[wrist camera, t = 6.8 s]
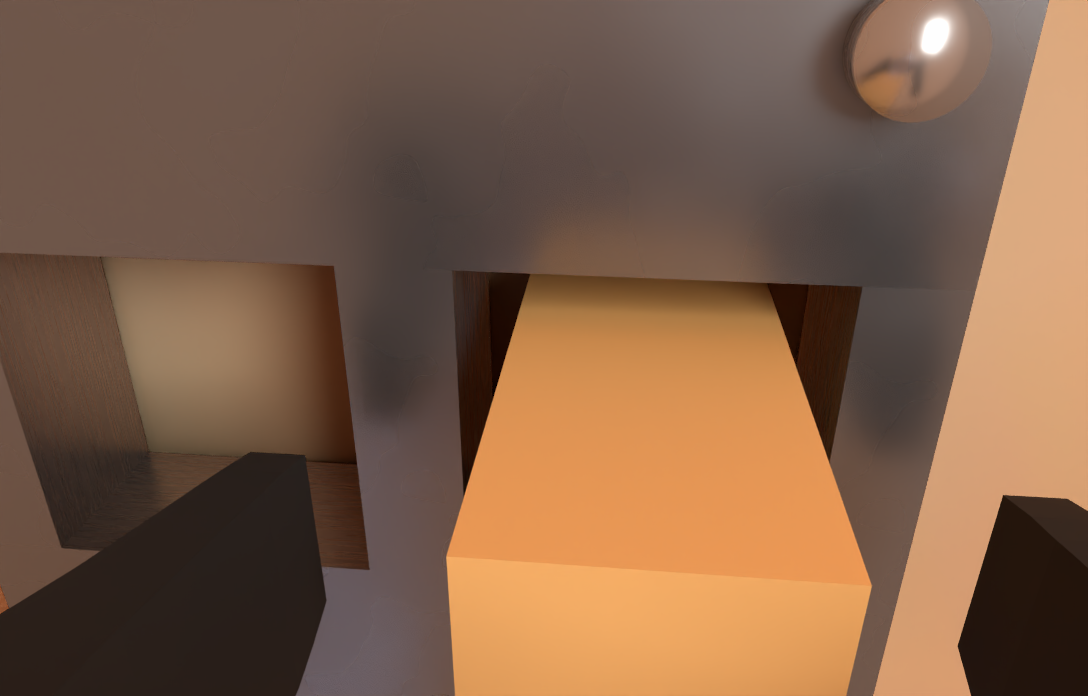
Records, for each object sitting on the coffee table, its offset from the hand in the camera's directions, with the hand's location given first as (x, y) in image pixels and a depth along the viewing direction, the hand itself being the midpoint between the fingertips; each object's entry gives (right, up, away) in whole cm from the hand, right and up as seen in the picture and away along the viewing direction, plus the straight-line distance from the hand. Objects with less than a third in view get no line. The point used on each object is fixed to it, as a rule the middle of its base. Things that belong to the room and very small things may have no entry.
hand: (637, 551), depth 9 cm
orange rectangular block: (0, +2, +4) cm, 4 cm away
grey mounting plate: (-2, +2, +4) cm, 5 cm away
